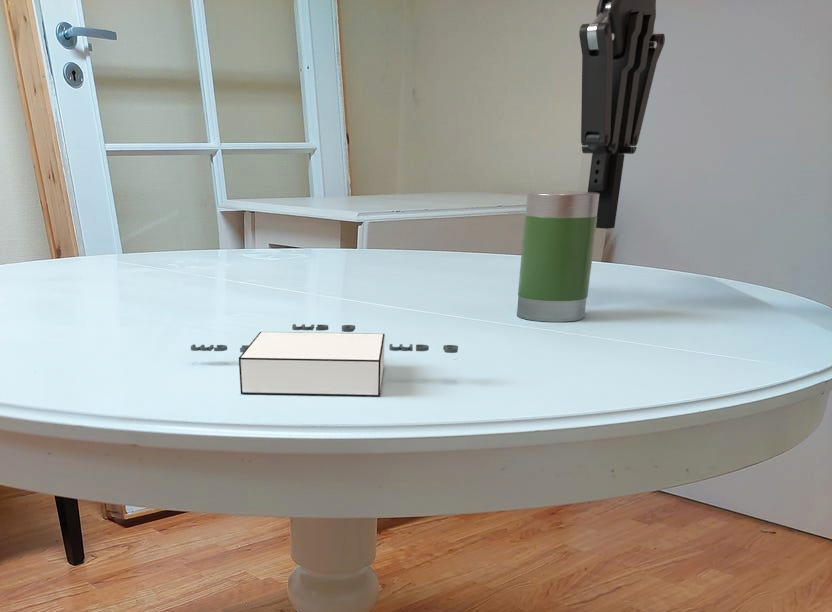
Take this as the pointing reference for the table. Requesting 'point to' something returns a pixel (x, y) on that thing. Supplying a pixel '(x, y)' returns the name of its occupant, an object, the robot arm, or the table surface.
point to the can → (557, 255)
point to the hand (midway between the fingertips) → (598, 227)
